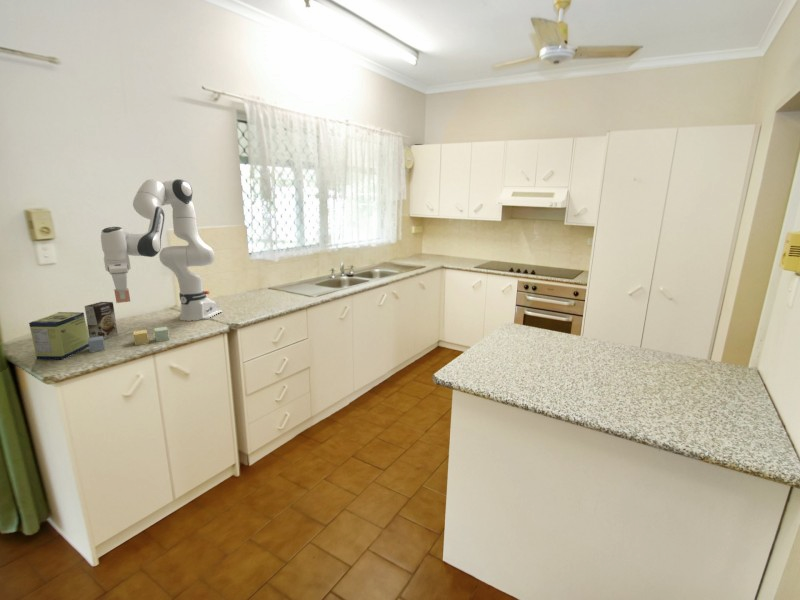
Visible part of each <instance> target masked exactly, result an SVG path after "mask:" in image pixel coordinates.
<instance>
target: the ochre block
mask: <svg viewBox="0 0 800 600" xmlns="http://www.w3.org/2000/svg"><path fill="white" fill-rule="evenodd" d="M132 334H133V340H134V345H135V346H139V344H140V345H144V343H146V344H149V336H148V331H147V329H143V330H134V331H133V333H132Z"/></svg>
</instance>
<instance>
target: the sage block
mask: <svg viewBox="0 0 800 600" xmlns="http://www.w3.org/2000/svg"><path fill="white" fill-rule="evenodd" d="M153 331H154V339H155V342H157V341H159V342H164V341H163V340H165V341H169V340H170V337H169V330H168V327H167V326H163V327H155V328H153Z"/></svg>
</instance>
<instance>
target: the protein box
mask: <svg viewBox="0 0 800 600" xmlns="http://www.w3.org/2000/svg"><path fill="white" fill-rule="evenodd" d="M86 323H87V322H86V317H85V313H84V312H80V311H79V312H69V311H68V312H67V311H59V312H56V313H54V314H50V315H48V316H44V317H42V318H39V319H36V320H33V321H30V322H29V323H28V324H29V329H30V333H31V338H32V342H33V343H32V344H33V348H34V352H35V356H36V357H35V358H36V360H61V359H63V360H65V359H67V358H69V357H70V355H71V356H73V355H74V353H75V354H77V353H78V351H79V352H81V351H83V350H85V349H87V348H89V344H88V338H89V333H88V327H87V324H86ZM76 352H77V353H76ZM72 354H73V355H72ZM68 356H69V357H68ZM66 357H67V358H66ZM64 358H65V359H64Z"/></svg>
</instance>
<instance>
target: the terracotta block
mask: <svg viewBox="0 0 800 600" xmlns="http://www.w3.org/2000/svg"><path fill="white" fill-rule="evenodd" d="M113 290H114V296H115V302H116V304H120V303H127V302H129V303H130V302H131V297H130V292H129V291H130V290H129V288H128V287H127V290H126V291H125V299H120V294H119V291H117V290H116V288H115V289H113Z"/></svg>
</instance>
